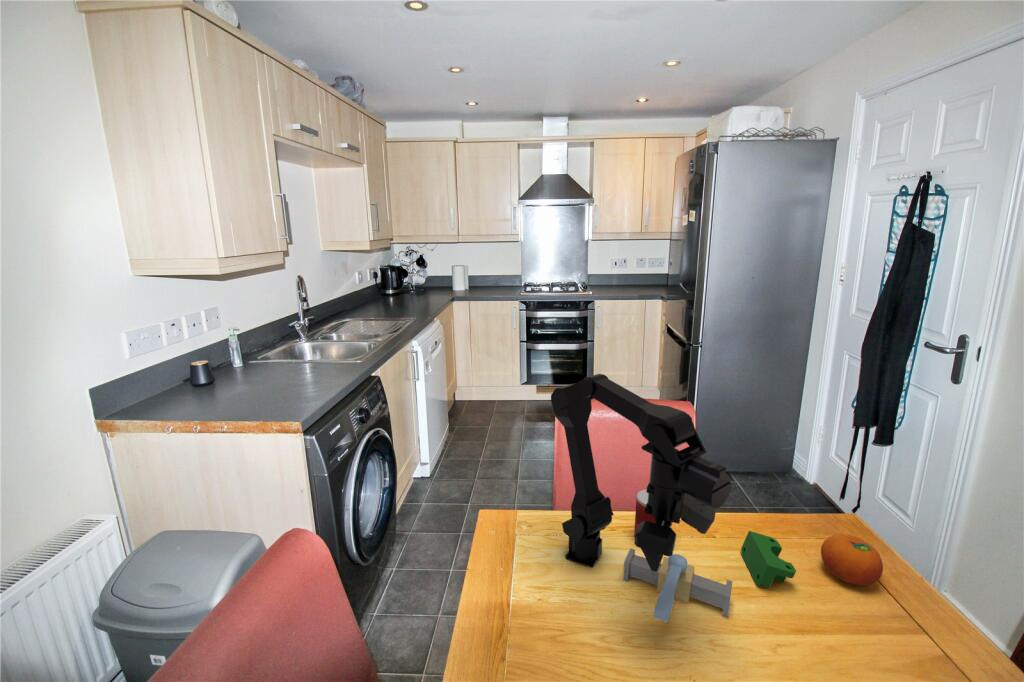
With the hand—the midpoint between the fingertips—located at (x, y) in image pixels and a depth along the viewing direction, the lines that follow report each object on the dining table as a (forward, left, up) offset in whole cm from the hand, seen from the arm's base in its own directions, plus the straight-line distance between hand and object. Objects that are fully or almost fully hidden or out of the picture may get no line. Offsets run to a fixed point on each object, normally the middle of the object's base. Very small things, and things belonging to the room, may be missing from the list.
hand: (658, 554), depth 87 cm
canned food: (-5, +21, -13) cm, 25 cm away
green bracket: (+18, +22, -13) cm, 31 cm away
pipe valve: (+3, +7, -12) cm, 14 cm away
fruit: (+33, +29, -13) cm, 46 cm away
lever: (+3, 0, -7) cm, 7 cm away
